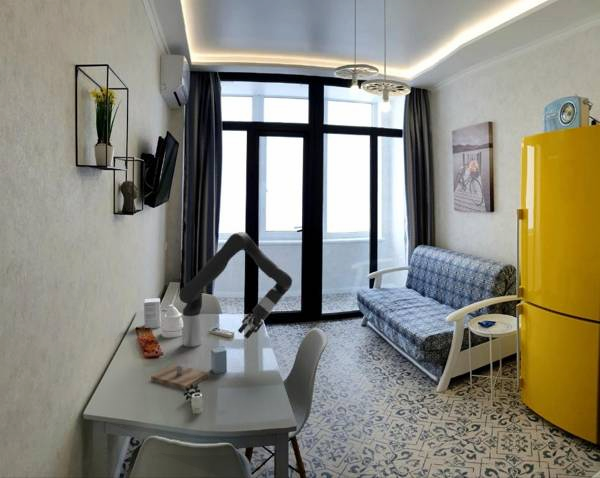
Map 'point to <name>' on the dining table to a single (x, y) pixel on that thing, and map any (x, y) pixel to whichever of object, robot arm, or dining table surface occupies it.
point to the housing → (218, 360)
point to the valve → (194, 398)
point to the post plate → (179, 376)
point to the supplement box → (152, 313)
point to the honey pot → (172, 323)
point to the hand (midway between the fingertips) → (242, 334)
